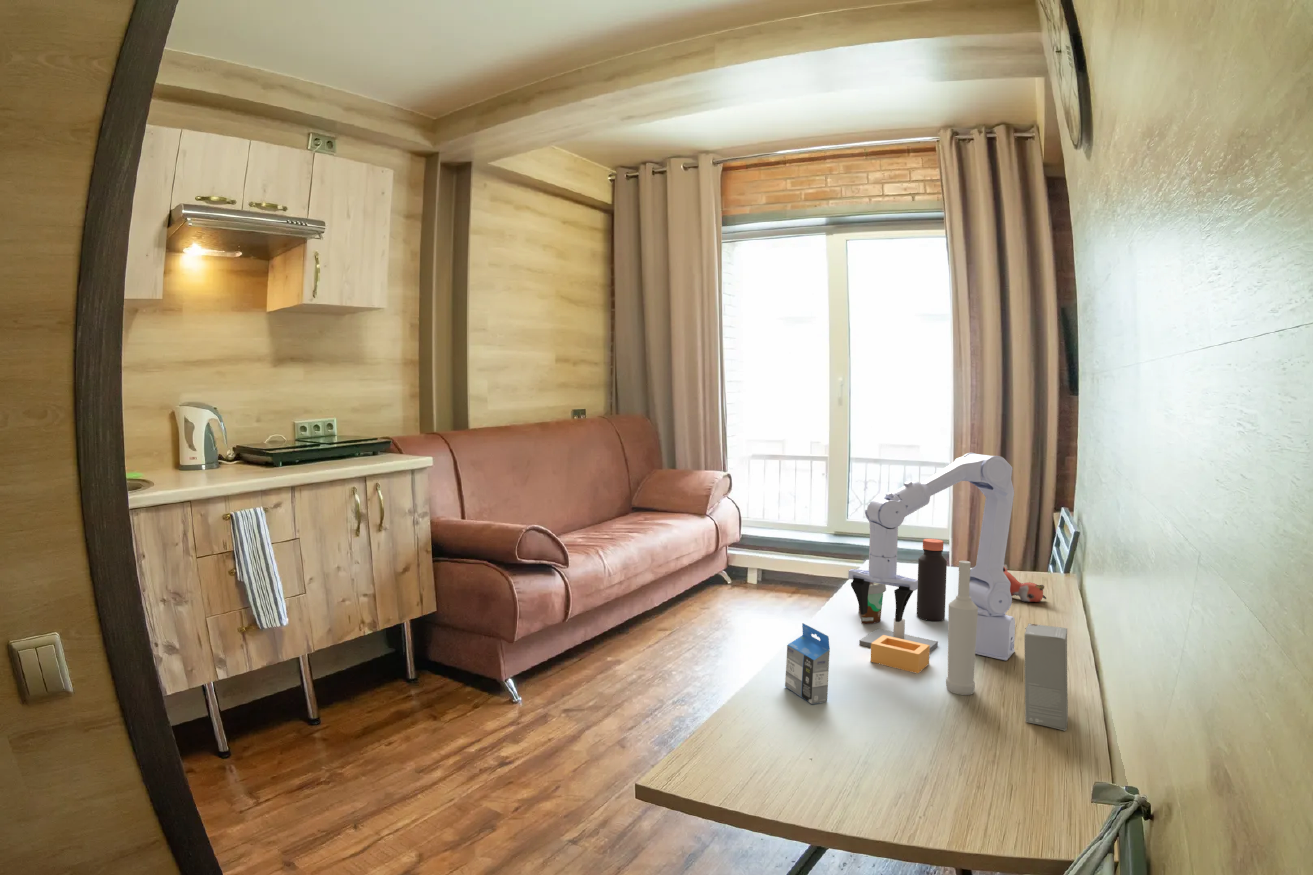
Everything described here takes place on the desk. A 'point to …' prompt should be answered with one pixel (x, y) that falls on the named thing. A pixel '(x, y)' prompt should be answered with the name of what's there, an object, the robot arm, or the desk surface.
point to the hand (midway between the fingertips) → (881, 617)
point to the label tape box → (808, 666)
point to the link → (900, 653)
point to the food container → (873, 604)
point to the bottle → (962, 636)
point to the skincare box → (1046, 676)
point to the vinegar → (931, 581)
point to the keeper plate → (889, 633)
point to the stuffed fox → (1024, 589)
